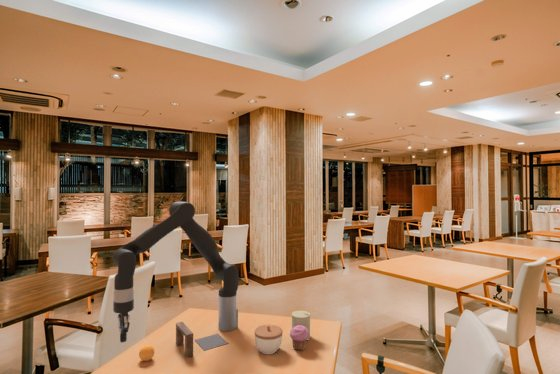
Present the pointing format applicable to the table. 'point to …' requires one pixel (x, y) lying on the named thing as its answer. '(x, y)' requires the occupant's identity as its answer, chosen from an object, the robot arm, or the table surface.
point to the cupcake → (299, 336)
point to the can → (301, 319)
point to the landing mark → (211, 342)
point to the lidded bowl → (268, 338)
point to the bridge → (185, 331)
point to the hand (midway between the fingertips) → (123, 341)
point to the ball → (146, 353)
